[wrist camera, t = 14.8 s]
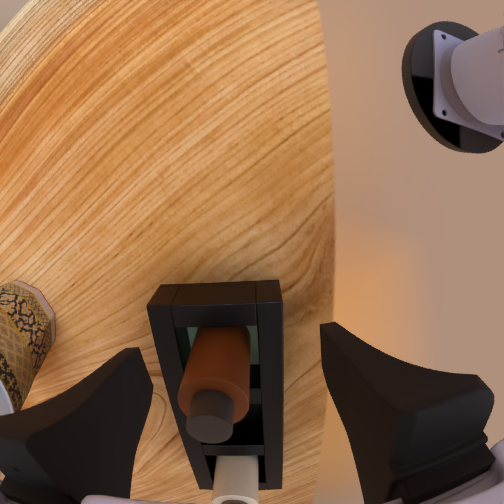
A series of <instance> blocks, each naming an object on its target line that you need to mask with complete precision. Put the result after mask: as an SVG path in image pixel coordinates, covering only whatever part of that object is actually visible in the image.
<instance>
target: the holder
mask: <svg viewBox="0 0 504 504" xmlns="http://www.w3.org/2000/svg"><path fill="white" fill-rule="evenodd" d="M147 311H148V316H149V320H150V325H151V329H152V334H153V338H154V342H155V346H156V351H157V355H158V359H159V363H160V367H161V370H162V374H163V378H164V382H165V385H166V389H167V392H168V396H169V399H170V403H171V406H172V410H173V413H174V416H175V419H176V423H177V426H178V429H179V432H180V435H181V438H182V441H183V444H184V447H185V450H186V453H187V456H188V459H189V461H190V464H191V467H192V470H193V473H194V475H195V478H196V481H197V483H198V486H199V488H200V489H207V490H213V483H214V474H215V465H216V456H256V455H258V463H259V490H266V489H267V490H272V489H282V473H283V402H284V359H283V300H282V295H281V289H280V284H279V280H265V281H244V282H221V283H195V284H163V285H160V286H159V288H158V289H157V291H156V292H155V294H154V295H153V297H152V298H151V300H150V301H149V303H148V304H147ZM231 326H246V327H247V329H248V330H249V333H250V338H251V344H250V389H249V409H248V412H247V414H246V415H245V416H244V417H243V418H242V419H241V420H240V421H238V422H236V423H234V424H233V433H232V435H231V437H230V438H229V439H228V440H226V441H224V442H221V443H205V442H201V441H199V440H196V439H195V438H193V437H192V436H191V435H190V434H189V433H188V432H187V430H186V422H187V417H188V416H187V415H185V414H184V412H183V411H182V410H181V408H180V406H179V404H178V392H179V389H180V385H181V382H182V379H183V375H184V372H185V368H186V365H187V362H188V358H189V355H190V351H191V348H192V345H193V342H194V338H195V335H196V332H197V329H198V327H231Z"/></svg>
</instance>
